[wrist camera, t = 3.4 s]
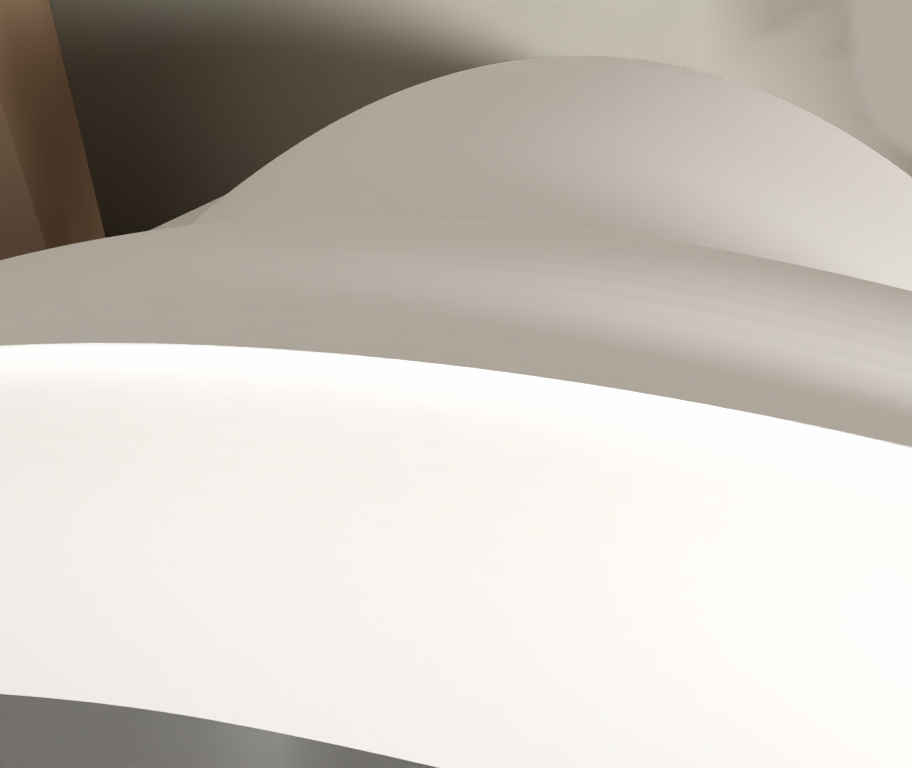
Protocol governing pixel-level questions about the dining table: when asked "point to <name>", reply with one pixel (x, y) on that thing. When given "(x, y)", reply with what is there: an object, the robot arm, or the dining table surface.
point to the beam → (40, 139)
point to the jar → (475, 446)
